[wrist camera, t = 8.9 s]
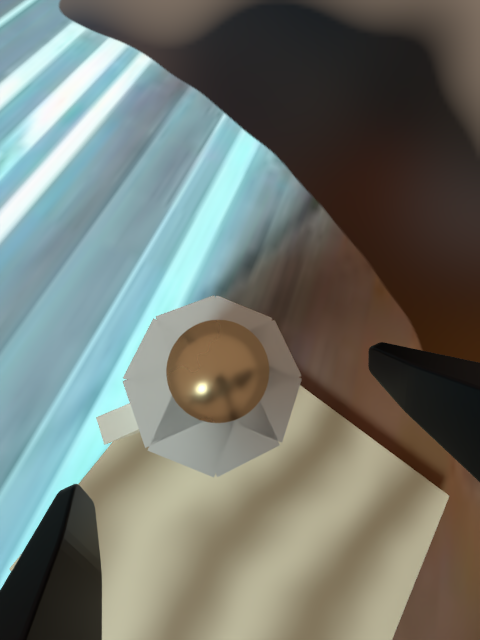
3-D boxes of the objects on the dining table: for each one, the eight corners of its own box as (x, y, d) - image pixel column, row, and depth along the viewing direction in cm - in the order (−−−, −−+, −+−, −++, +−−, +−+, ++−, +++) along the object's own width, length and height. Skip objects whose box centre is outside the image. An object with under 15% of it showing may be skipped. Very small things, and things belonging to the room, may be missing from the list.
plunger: (231, 340, 20) (253, 282, 11) (261, 409, 19) (314, 407, 10) (161, 368, 19) (124, 330, 10) (189, 443, 18) (175, 476, 9)
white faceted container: (240, 319, 22) (258, 271, 14) (286, 421, 20) (334, 426, 13) (115, 367, 20) (62, 342, 12) (154, 486, 18) (120, 538, 11)
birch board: (438, 492, 21) (449, 495, 20) (305, 813, 15) (312, 840, 14) (211, 323, 23) (212, 320, 22) (20, 560, 17) (9, 569, 16)
